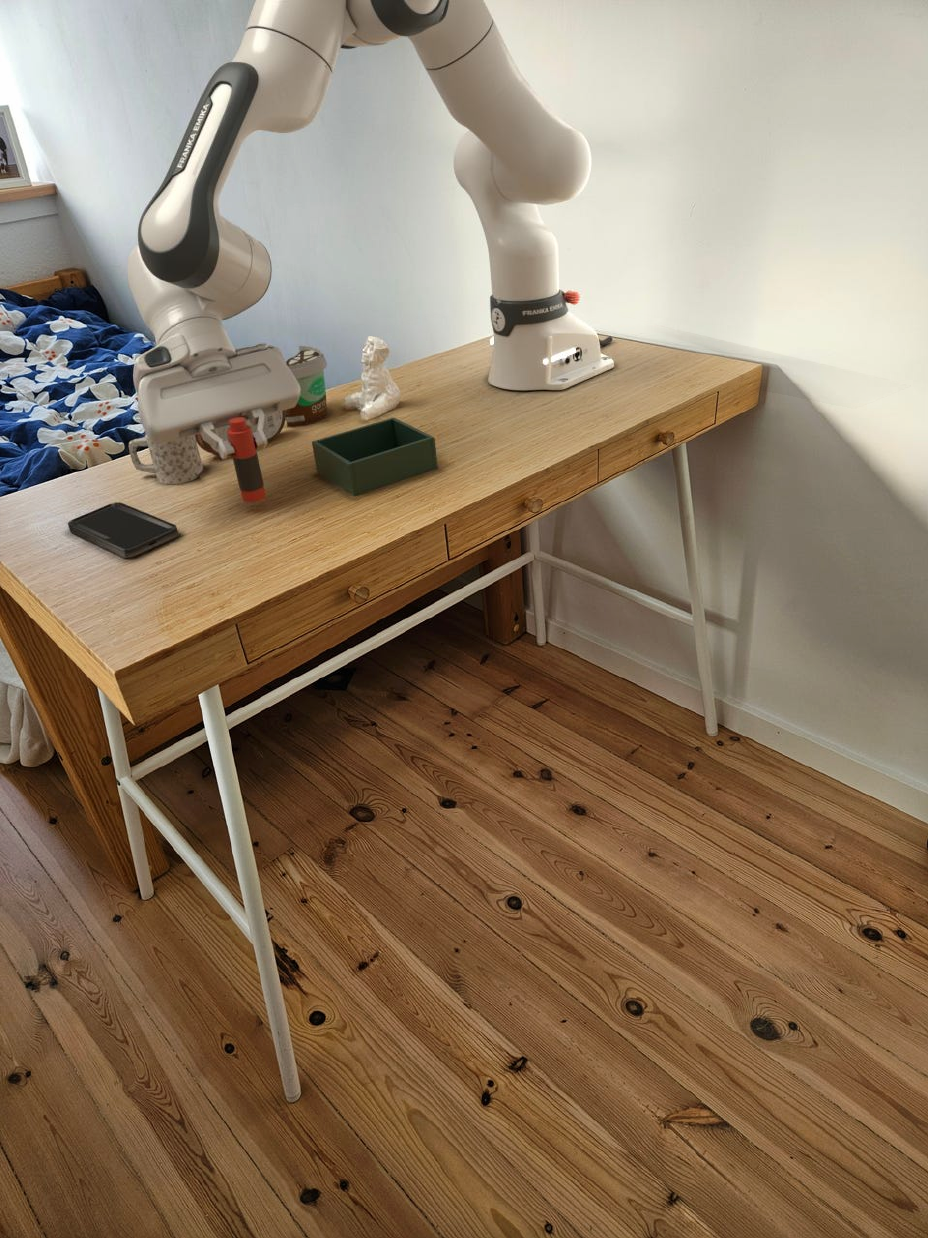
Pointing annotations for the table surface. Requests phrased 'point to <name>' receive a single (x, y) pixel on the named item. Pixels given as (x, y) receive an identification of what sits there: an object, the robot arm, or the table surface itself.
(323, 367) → the food container
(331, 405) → the table surface
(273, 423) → the tin
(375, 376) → the seated beast figurine
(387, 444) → the dark green open box
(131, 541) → the phone
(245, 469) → the red and grey bottle
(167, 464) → the mug
